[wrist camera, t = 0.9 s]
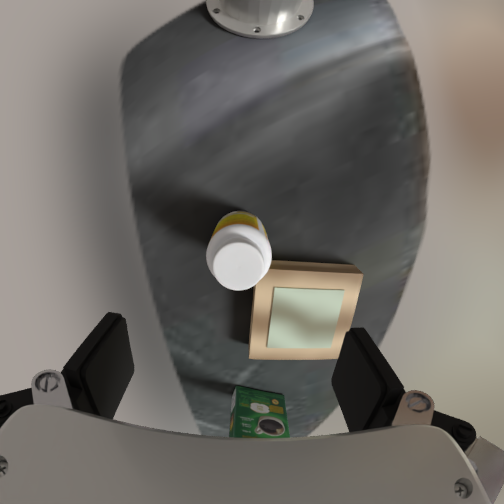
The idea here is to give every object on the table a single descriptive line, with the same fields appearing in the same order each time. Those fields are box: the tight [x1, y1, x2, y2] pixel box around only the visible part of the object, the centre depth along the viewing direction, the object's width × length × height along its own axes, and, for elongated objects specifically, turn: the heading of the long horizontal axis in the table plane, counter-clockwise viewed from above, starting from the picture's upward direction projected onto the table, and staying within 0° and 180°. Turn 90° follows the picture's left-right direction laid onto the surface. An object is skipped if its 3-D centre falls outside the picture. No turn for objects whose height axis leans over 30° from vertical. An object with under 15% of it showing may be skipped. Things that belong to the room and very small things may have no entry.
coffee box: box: [229, 386, 290, 438], centre depth 32 cm, size 8×3×13 cm, turn 71°
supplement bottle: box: [206, 211, 272, 291], centre depth 26 cm, size 6×6×10 cm
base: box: [249, 260, 363, 360], centre depth 32 cm, size 12×12×3 cm
